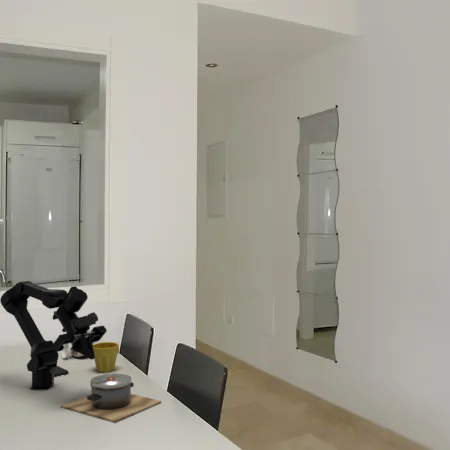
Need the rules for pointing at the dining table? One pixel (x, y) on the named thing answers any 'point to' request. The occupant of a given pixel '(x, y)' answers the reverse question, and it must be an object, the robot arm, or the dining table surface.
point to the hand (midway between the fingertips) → (93, 358)
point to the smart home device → (59, 371)
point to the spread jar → (72, 351)
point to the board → (114, 415)
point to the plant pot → (105, 356)
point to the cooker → (111, 397)
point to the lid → (110, 381)
